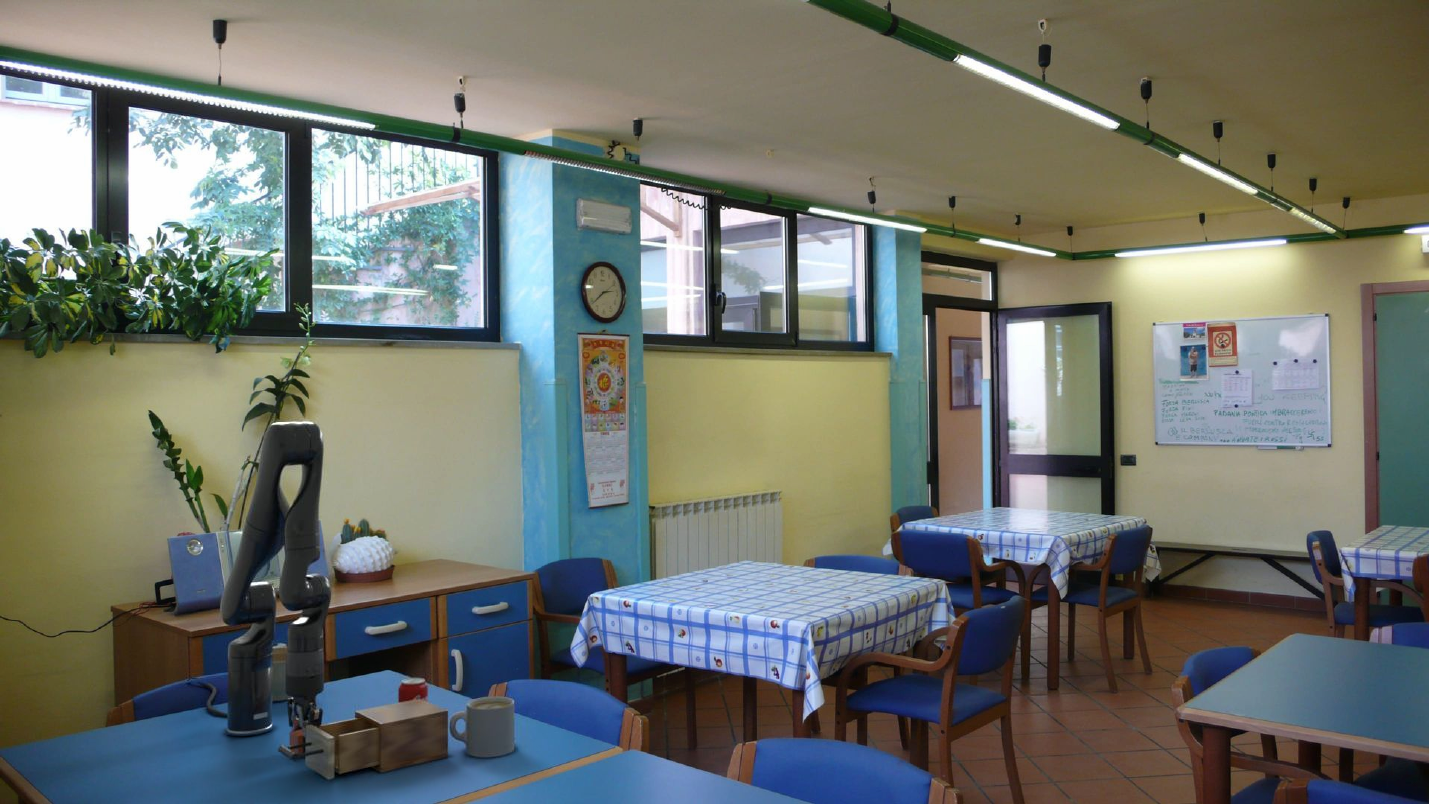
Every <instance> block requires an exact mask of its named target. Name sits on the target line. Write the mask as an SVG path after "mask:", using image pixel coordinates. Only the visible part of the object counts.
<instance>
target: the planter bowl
mask: <svg viewBox="0 0 1429 804" xmlns="http://www.w3.org/2000/svg"><path fill="white" fill-rule="evenodd" d="M286 657H287V646H286V647H273V683H272V702H281V701H287V699H288V698H293V697H291V696H288V695H287V694H286V692H285V691H286Z"/></svg>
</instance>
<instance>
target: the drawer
mask: <svg viewBox="0 0 1429 804" xmlns="http://www.w3.org/2000/svg"><path fill="white" fill-rule="evenodd" d="M301 747H306V752H305V753H300V754H297V753H295V752H294V751H292V749H296V748H301ZM277 751H278V752H279V753H280V754H282V755H283V756H285V757H286V758H288V759H289V760H291V761H293V762H297V761H298V760H299V759H300V758H305V766H307V767H308V768H310V769H311V770H313V771H314V772H316V773H317V774H319V775H321V776H322V777H324V778H326V779H327V780H331V779H335V772H336V773H337V774H339V775H342V774H345V773H350V772H353V771H358V770H362V769H365V768H366V769H367V768H372V767H371V766H376V765H380V727H379V726H377V725H375V724H373V723H371V722H369V721H367V720H365V719H363V718H360V717H359V718H355V717H354V718H350V719H344V720H339V721H334V722H329V723H324V724H321V725H320V729H318V728H317V727H315V726H313V725H308V726H306V743H302V744H297V745H292V746H289V745H288V746H286V745H284V744H282V745H279V747H278V748H277Z"/></svg>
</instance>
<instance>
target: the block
mask: <svg viewBox="0 0 1429 804" xmlns="http://www.w3.org/2000/svg"><path fill="white" fill-rule="evenodd" d="M288 743H289V745H288V746H292V745H297V744H302V743H303V730H302V729H301V730H295V731H292V730H291V731H289V741H288ZM292 751H294V752H295V753H297V754H300V753H303V747H301V748H296V749H292Z"/></svg>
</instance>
